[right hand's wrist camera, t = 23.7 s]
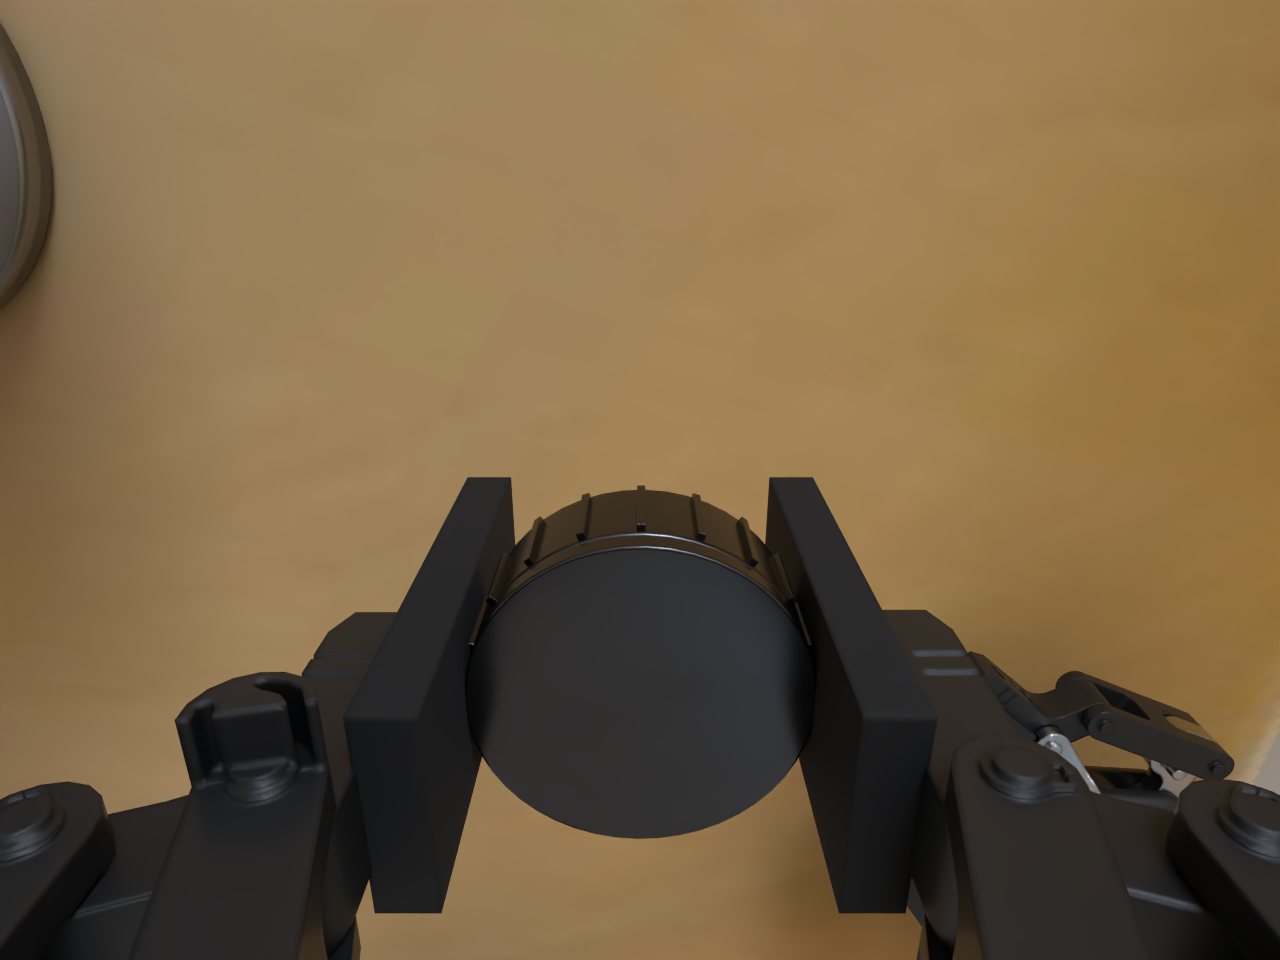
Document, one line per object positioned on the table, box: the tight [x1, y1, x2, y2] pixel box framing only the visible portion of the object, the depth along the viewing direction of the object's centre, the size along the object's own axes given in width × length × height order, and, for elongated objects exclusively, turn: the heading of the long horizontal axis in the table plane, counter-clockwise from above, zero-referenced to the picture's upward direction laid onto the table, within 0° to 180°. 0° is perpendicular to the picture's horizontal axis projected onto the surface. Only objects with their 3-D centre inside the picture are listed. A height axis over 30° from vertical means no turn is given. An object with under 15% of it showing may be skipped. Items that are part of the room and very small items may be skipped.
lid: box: [465, 486, 816, 839], centre depth 11 cm, size 5×5×2 cm
